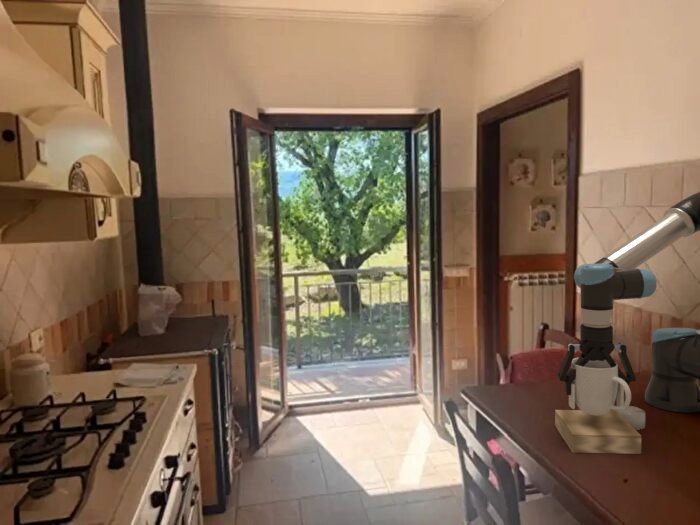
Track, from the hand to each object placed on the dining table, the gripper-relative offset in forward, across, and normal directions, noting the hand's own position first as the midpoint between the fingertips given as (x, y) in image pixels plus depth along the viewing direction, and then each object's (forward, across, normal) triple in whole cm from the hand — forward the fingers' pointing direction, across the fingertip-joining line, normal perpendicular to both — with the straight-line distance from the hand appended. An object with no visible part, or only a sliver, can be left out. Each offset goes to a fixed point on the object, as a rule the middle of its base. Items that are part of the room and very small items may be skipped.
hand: (595, 407), depth 133 cm
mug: (+2, -1, 0) cm, 2 cm away
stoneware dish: (+9, -12, -10) cm, 18 cm away
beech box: (+9, 0, 0) cm, 9 cm away
